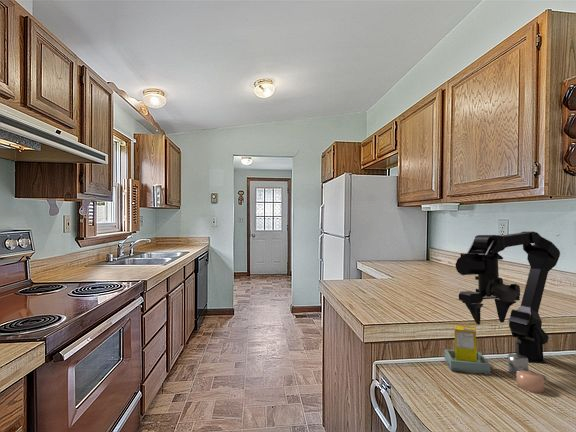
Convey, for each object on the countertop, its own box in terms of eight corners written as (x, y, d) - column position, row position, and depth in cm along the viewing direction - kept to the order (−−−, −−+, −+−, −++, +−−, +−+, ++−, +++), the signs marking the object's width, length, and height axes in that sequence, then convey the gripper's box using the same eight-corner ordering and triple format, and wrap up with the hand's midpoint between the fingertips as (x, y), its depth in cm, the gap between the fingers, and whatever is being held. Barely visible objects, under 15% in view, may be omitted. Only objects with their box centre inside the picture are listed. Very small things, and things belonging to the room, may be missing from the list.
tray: (480, 361, 109) (479, 352, 109) (490, 374, 99) (490, 364, 99) (444, 358, 112) (444, 349, 112) (451, 371, 101) (450, 360, 102)
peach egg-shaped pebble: (538, 384, 92) (537, 371, 92) (548, 394, 86) (548, 380, 87) (513, 382, 94) (512, 369, 94) (522, 392, 88) (521, 378, 88)
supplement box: (477, 361, 106) (476, 326, 107) (477, 367, 101) (476, 331, 102) (456, 358, 109) (455, 324, 110) (455, 364, 104) (454, 328, 105)
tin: (524, 369, 102) (523, 354, 102) (531, 376, 97) (530, 360, 98) (506, 368, 104) (505, 353, 104) (512, 374, 99) (511, 359, 99)
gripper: (484, 278, 97) (487, 332, 97) (535, 275, 102) (537, 327, 101) (456, 273, 108) (458, 323, 107) (503, 272, 113) (505, 319, 112)
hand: (490, 323), depth 107 cm, fingers open, 9 cm apart
